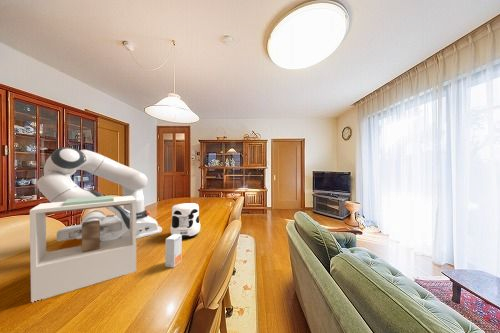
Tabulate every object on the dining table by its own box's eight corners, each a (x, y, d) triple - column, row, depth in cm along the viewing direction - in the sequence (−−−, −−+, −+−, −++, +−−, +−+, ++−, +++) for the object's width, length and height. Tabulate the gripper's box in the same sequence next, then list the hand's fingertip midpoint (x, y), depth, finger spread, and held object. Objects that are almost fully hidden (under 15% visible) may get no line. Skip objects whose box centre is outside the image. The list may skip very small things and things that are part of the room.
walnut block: (99, 244, 75) (99, 220, 75) (99, 249, 71) (99, 223, 71) (83, 248, 72) (83, 222, 72) (81, 253, 68) (81, 225, 68)
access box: (133, 259, 85) (132, 193, 85) (136, 271, 76) (135, 197, 75) (41, 283, 68) (40, 200, 68) (31, 302, 59) (29, 207, 58)
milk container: (190, 228, 127) (190, 201, 127) (206, 234, 116) (205, 205, 116) (165, 235, 113) (164, 206, 113) (180, 243, 102) (180, 210, 102)
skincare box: (174, 268, 78) (174, 239, 78) (165, 266, 79) (165, 238, 79) (182, 260, 84) (182, 234, 84) (173, 259, 85) (173, 233, 85)
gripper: (59, 222, 76) (51, 232, 65) (121, 214, 88) (122, 221, 77) (60, 238, 76) (51, 250, 65) (121, 227, 88) (123, 237, 77)
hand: (91, 235), depth 71 cm, fingers closed on walnut block, 5 cm apart
